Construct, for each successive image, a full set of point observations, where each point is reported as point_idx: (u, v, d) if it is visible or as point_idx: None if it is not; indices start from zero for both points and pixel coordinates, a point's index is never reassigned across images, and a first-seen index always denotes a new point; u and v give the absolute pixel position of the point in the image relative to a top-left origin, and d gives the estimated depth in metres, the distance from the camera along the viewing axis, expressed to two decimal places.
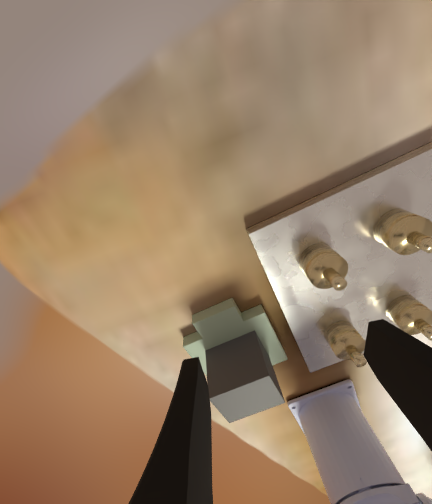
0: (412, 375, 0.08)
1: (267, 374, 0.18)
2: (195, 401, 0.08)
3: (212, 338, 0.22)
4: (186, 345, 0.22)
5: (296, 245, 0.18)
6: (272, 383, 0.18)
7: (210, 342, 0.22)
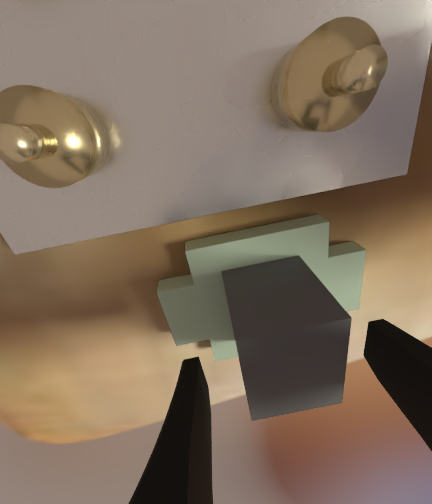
0: (412, 375, 0.08)
1: (235, 340, 0.08)
2: (195, 401, 0.08)
3: (214, 328, 0.14)
4: (215, 357, 0.15)
5: None
6: (265, 336, 0.08)
7: (221, 331, 0.14)
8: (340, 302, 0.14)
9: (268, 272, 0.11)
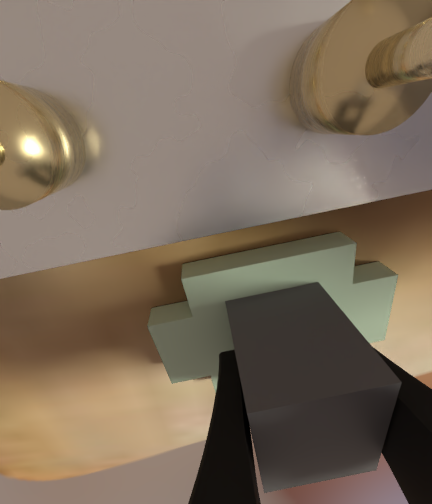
0: None
1: (246, 410, 0.06)
2: (241, 392, 0.08)
3: (216, 364, 0.12)
4: None
5: None
6: (287, 407, 0.06)
7: None
8: (363, 333, 0.12)
9: (282, 305, 0.09)
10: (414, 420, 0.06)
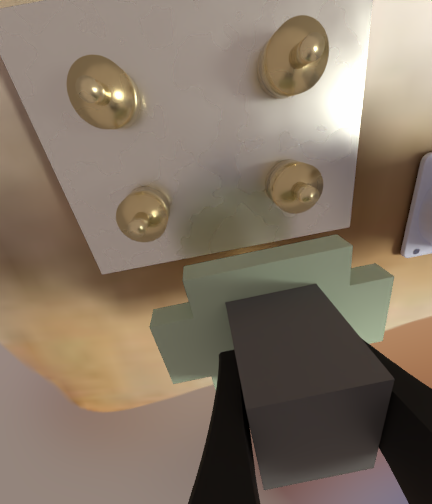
0: None
1: (245, 406, 0.07)
2: (240, 392, 0.08)
3: (217, 364, 0.12)
4: None
5: None
6: (284, 403, 0.06)
7: None
8: (361, 334, 0.12)
9: (281, 306, 0.10)
10: (414, 420, 0.06)
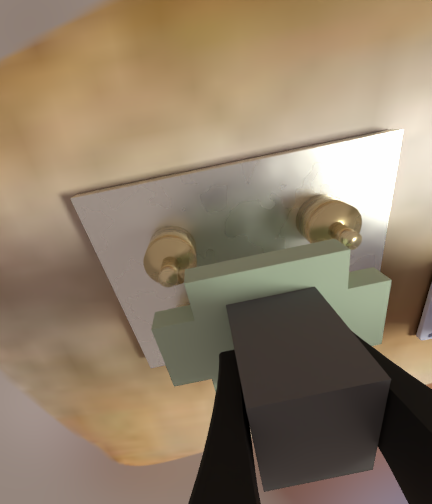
0: None
1: (245, 405, 0.07)
2: (241, 391, 0.08)
3: (217, 366, 0.12)
4: None
5: None
6: (283, 402, 0.07)
7: None
8: (360, 337, 0.12)
9: (280, 308, 0.10)
10: (414, 420, 0.06)
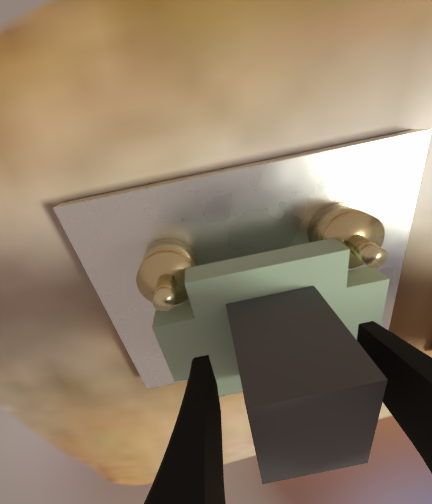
0: (400, 377, 0.08)
1: None
2: (207, 398, 0.08)
3: (217, 363, 0.12)
4: (218, 392, 0.14)
5: None
6: (283, 402, 0.07)
7: (225, 366, 0.13)
8: None
9: (280, 308, 0.10)
10: None
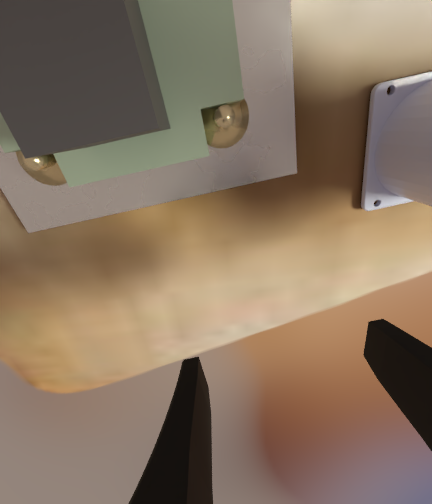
0: (412, 375, 0.08)
1: None
2: (195, 401, 0.08)
3: None
4: (67, 180, 0.12)
5: None
6: None
7: None
8: (215, 83, 0.10)
9: None
10: None
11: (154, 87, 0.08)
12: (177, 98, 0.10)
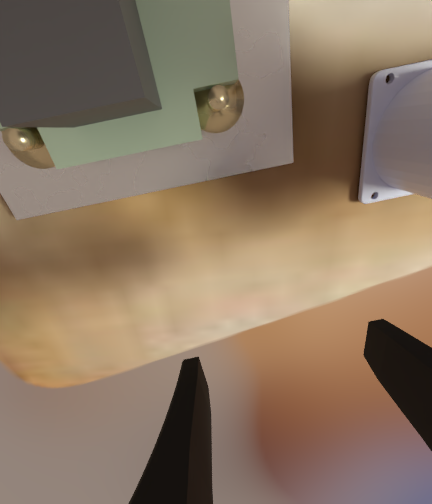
0: (412, 375, 0.08)
1: None
2: (195, 401, 0.08)
3: None
4: (54, 162, 0.11)
5: None
6: None
7: None
8: (208, 61, 0.10)
9: None
10: None
11: (142, 58, 0.08)
12: (169, 77, 0.10)
